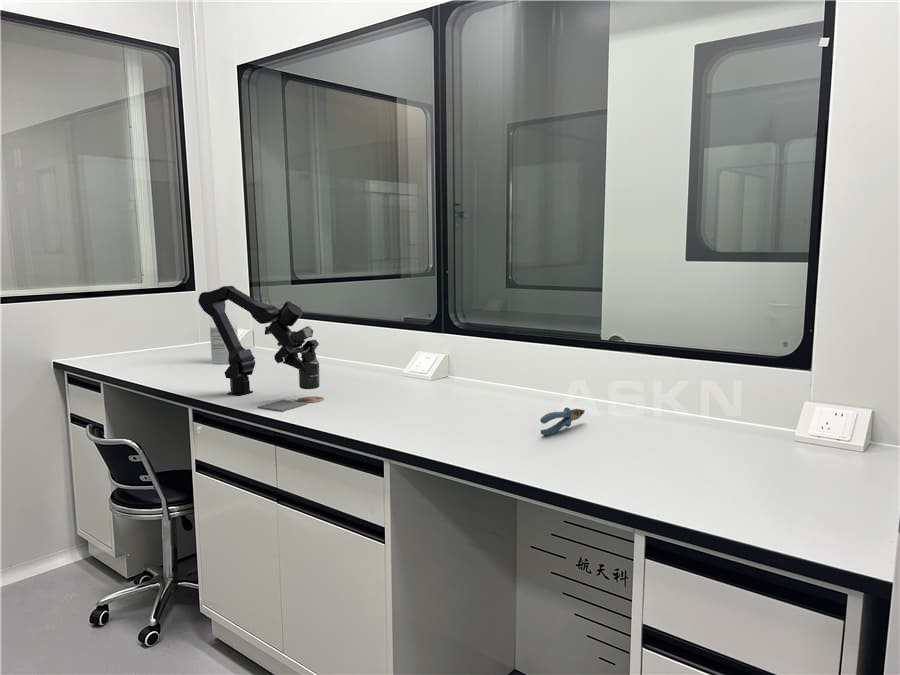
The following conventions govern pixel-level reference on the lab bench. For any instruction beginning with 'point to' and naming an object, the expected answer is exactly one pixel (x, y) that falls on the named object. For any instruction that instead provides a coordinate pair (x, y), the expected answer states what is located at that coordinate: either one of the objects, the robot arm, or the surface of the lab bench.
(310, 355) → the supplement bottle
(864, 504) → the lab bench surface
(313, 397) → the walnut coaster
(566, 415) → the pliers
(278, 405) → the charcoal mat
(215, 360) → the supplement box
